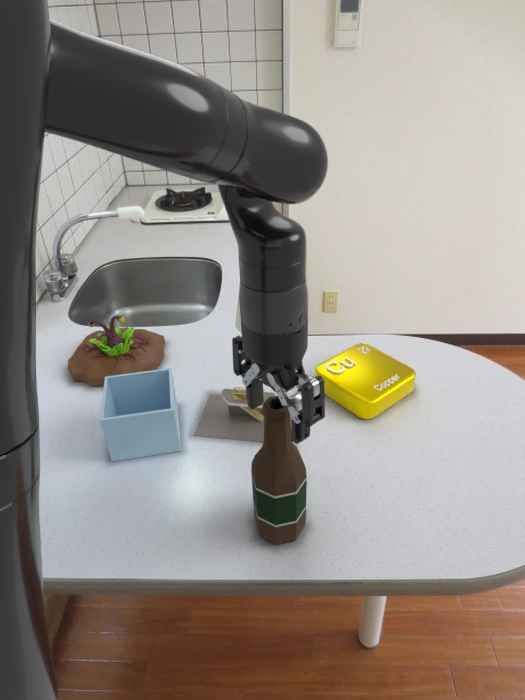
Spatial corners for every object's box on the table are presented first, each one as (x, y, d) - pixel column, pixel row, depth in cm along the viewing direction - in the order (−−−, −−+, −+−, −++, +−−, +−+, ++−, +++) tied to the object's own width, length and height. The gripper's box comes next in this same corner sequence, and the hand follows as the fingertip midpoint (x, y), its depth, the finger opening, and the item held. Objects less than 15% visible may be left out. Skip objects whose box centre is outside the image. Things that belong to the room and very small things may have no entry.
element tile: (366, 423, 97) (368, 403, 94) (310, 385, 106) (310, 366, 104) (417, 389, 104) (420, 369, 101) (360, 356, 114) (362, 338, 111)
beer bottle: (303, 549, 75) (305, 426, 62) (250, 543, 77) (240, 421, 63) (308, 506, 82) (310, 385, 68) (258, 500, 83) (251, 381, 69)
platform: (291, 445, 93) (291, 417, 89) (193, 435, 96) (189, 408, 92) (299, 401, 102) (299, 374, 99) (210, 393, 105) (207, 367, 101)
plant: (146, 391, 107) (137, 345, 100) (57, 384, 109) (42, 339, 103) (175, 337, 123) (168, 295, 116) (96, 332, 126) (86, 291, 119)
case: (180, 451, 92) (173, 410, 87) (111, 461, 91) (99, 420, 85) (177, 407, 102) (171, 367, 97) (115, 416, 101) (104, 376, 95)
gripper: (209, 302, 61) (220, 408, 70) (293, 354, 52) (293, 468, 61) (258, 281, 64) (263, 384, 74) (345, 326, 55) (338, 437, 65)
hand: (277, 422), depth 67 cm, fingers open, 8 cm apart
